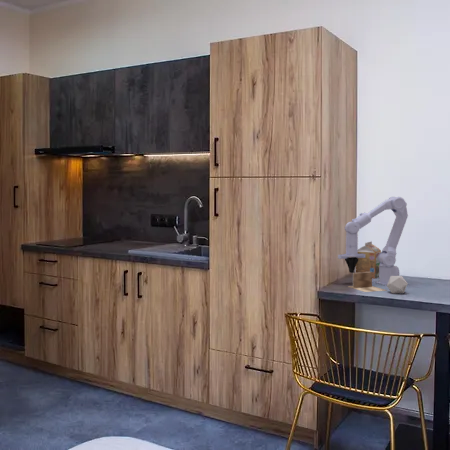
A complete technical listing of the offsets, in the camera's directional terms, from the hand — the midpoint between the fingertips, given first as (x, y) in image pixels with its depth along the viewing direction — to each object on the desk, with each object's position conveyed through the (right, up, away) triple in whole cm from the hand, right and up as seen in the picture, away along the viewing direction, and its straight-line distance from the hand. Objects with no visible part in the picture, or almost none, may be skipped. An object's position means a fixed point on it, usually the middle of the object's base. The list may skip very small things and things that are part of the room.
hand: (351, 272), depth 273 cm
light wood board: (+4, -7, -13) cm, 15 cm away
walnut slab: (+3, -6, -9) cm, 12 cm away
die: (+15, -7, -24) cm, 30 cm away
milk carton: (+15, -5, +24) cm, 28 cm away
